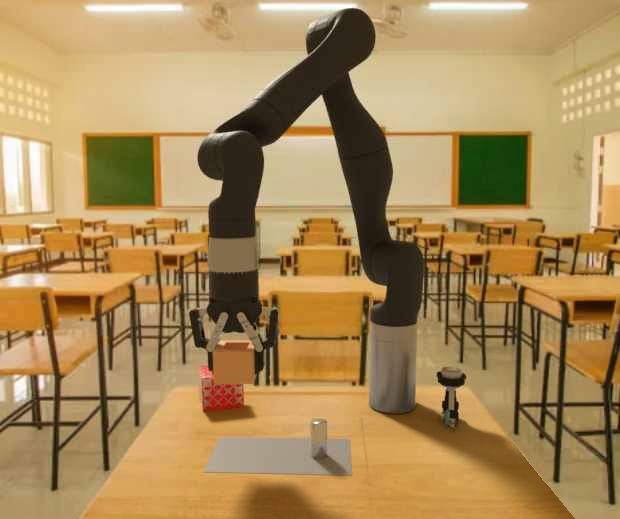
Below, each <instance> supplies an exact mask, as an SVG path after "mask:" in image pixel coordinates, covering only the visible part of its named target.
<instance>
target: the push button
mask: <svg viewBox="0 0 620 519" xmlns="http://www.w3.org/2000/svg"><path fill="white" fill-rule="evenodd" d="M436 377H437V383H439V385H441V386H442V387H443V388H445V394H444V400H442V401H441V408H442V411H441V421H443V419H444V422H445V425H446V426H450V428H456V427H457V422H459V419H460V417H459V416H460V415H459V409H460V403H459V401H458V400H457V389H459V388H461V387H462V386H464V385H465V384H466V382H465V381H466V380H467V375H466V374H465V373H463V372H462V369H461V368H460V367H457V366H456V367H455V366H443V367H442V368H441V370H440V371H437V372H436Z"/></svg>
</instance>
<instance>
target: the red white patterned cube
mask: <svg viewBox="0 0 620 519" xmlns="http://www.w3.org/2000/svg"><path fill="white" fill-rule="evenodd" d="M244 385H245V384H214V376H213V375H212V371H209V369H208V364H203V365H201V364H200V365H198V389H199V391H198V395H199V400H198V401H199V402H198V403H199V405H201V406H202V411H211V410H221V409H223V410H224V409H231V408H242V407H244V406H245V404H244V403H245V400H244V399H245V396H244V395H245V393H244V391H245V390H244V389H245V387H244Z"/></svg>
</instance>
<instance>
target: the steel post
mask: <svg viewBox="0 0 620 519" xmlns="http://www.w3.org/2000/svg"><path fill="white" fill-rule="evenodd" d="M310 438H311V457H312V458H314V459H324V458H326V457H327V439H328V420H327V419H325V418H324V419H323V418H314V419H313V418H312V420H310Z"/></svg>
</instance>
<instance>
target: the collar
mask: <svg viewBox="0 0 620 519" xmlns="http://www.w3.org/2000/svg"><path fill="white" fill-rule="evenodd" d="M254 352H255V348H254V346H253V344H252V342H251V340H219V342H218V344H217V346H216V348H215V349H214V350H213V376H214V384H244V385H254V383H255V380H256V378H257V376H258V375H255V356H254Z"/></svg>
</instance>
